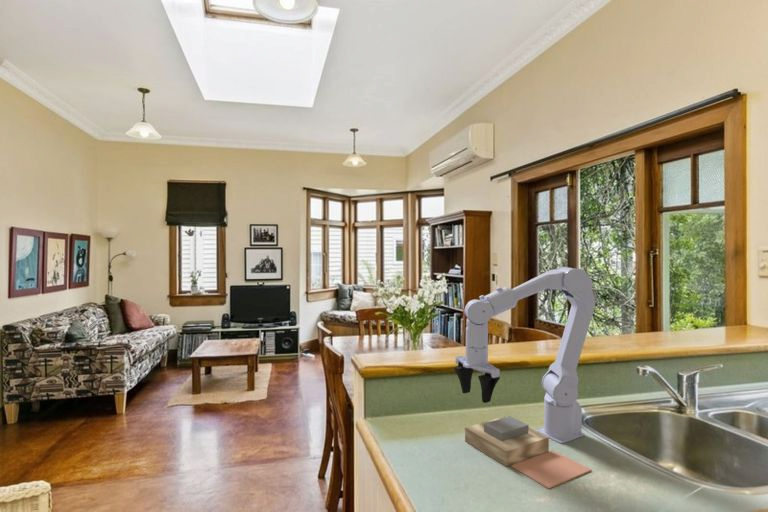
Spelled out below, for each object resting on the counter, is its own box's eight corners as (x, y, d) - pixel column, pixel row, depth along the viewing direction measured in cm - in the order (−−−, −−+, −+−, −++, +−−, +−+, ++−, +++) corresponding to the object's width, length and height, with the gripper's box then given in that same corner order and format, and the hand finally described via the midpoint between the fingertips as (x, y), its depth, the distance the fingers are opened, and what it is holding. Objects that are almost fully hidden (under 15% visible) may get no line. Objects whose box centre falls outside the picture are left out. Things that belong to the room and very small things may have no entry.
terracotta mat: (553, 451, 103) (553, 450, 103) (591, 470, 95) (591, 469, 95) (511, 466, 96) (511, 465, 96) (548, 489, 88) (548, 487, 88)
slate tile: (509, 423, 110) (510, 416, 110) (528, 433, 105) (528, 425, 105) (483, 431, 106) (483, 423, 106) (501, 441, 101) (501, 433, 101)
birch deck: (505, 429, 115) (505, 416, 115) (548, 451, 103) (548, 437, 103) (465, 441, 108) (465, 427, 108) (506, 466, 96) (506, 451, 96)
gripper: (447, 342, 117) (446, 391, 117) (485, 354, 104) (484, 409, 105) (466, 339, 120) (466, 386, 121) (505, 350, 108) (505, 403, 108)
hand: (476, 397), depth 113 cm, fingers open, 7 cm apart
